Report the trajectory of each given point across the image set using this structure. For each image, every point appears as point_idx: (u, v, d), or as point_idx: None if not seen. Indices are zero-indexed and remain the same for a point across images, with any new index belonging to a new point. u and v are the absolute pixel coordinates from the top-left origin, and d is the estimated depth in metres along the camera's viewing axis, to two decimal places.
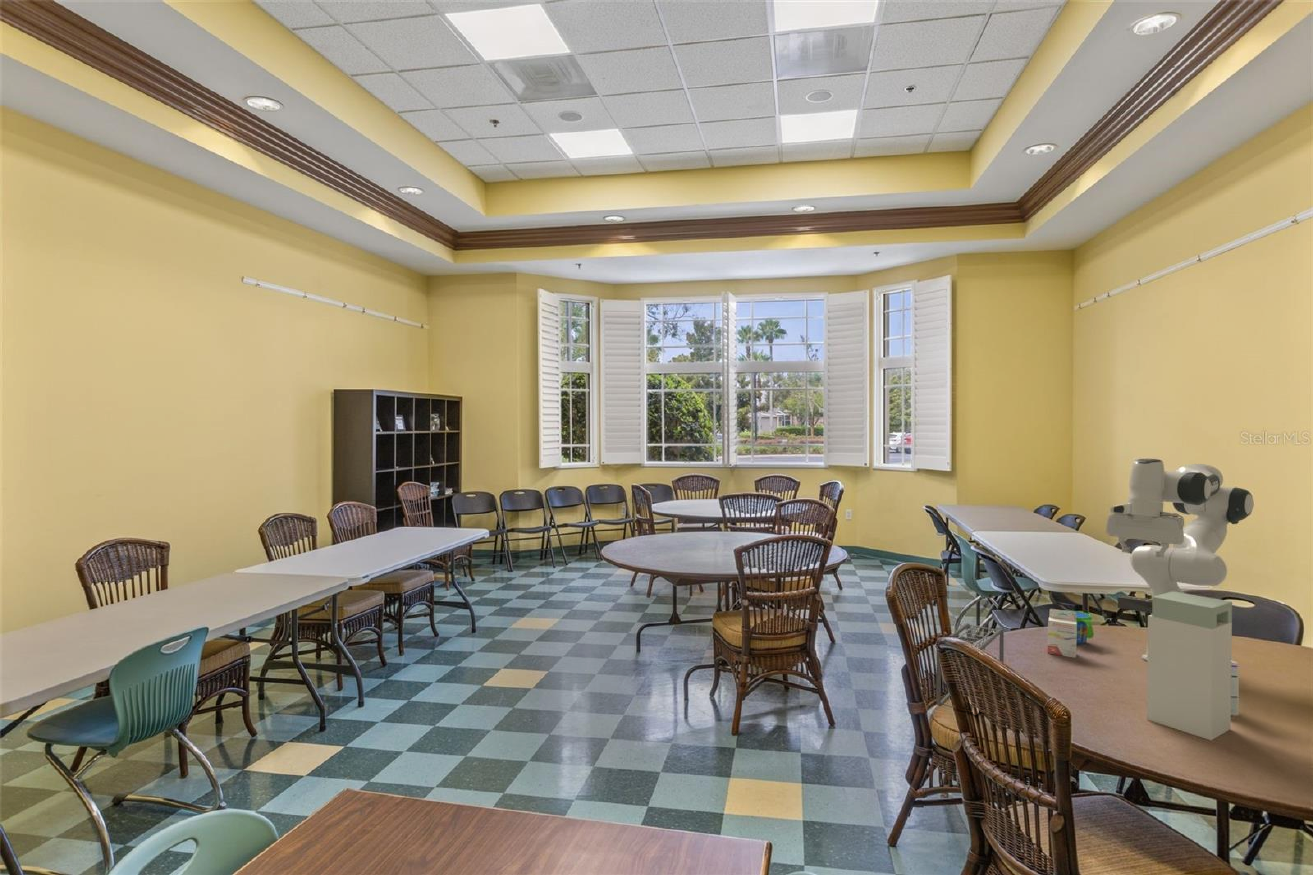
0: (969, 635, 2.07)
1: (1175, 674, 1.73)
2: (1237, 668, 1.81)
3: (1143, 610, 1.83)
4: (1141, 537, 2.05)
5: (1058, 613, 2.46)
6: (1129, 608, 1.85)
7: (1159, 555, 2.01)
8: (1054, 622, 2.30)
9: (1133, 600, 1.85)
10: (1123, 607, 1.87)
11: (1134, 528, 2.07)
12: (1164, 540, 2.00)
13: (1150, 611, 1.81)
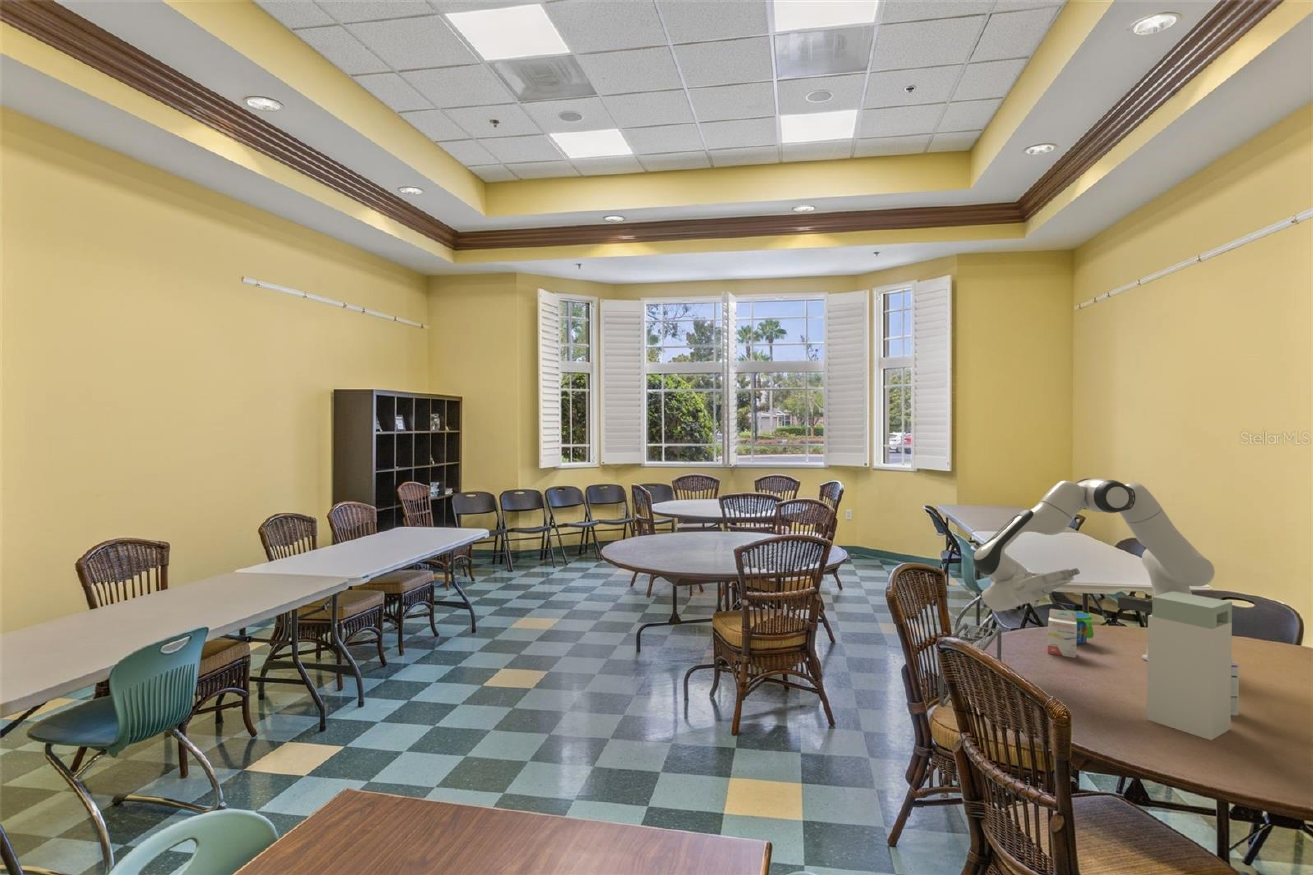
0: (967, 635, 2.08)
1: (1175, 674, 1.73)
2: (1237, 668, 1.81)
3: (1143, 610, 1.83)
4: (1055, 583, 2.04)
5: (1058, 613, 2.46)
6: (1129, 608, 1.85)
7: (1060, 577, 1.98)
8: (1054, 622, 2.30)
9: (1133, 600, 1.85)
10: (1123, 607, 1.87)
11: (1052, 585, 2.07)
12: (1045, 586, 2.01)
13: (1150, 611, 1.81)
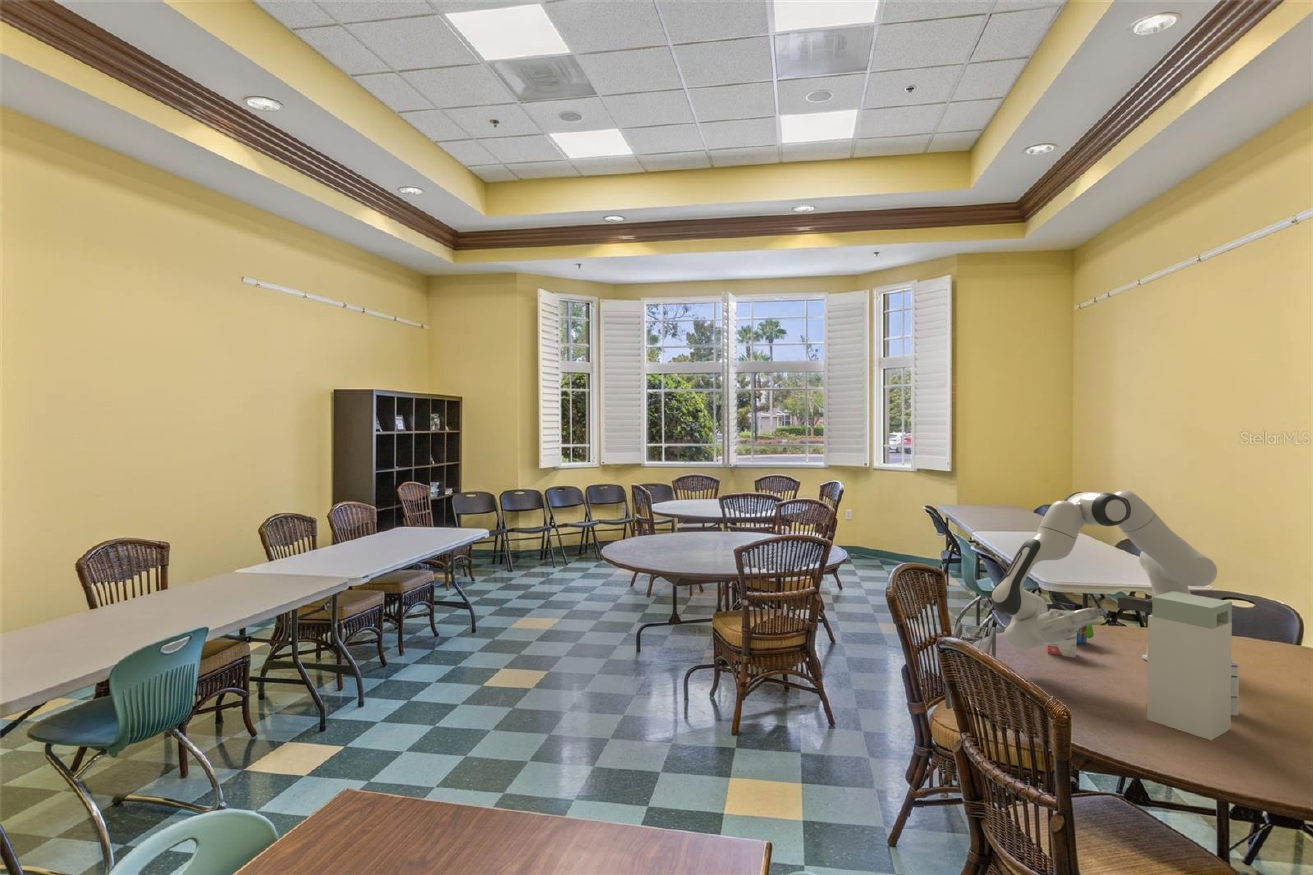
0: (961, 634, 2.08)
1: (1175, 674, 1.73)
2: (1237, 668, 1.81)
3: (1143, 610, 1.83)
4: (1083, 623, 1.97)
5: None
6: (1129, 608, 1.85)
7: (1088, 618, 1.92)
8: None
9: (1133, 600, 1.85)
10: (1123, 607, 1.87)
11: None
12: (1072, 627, 1.94)
13: (1150, 611, 1.81)
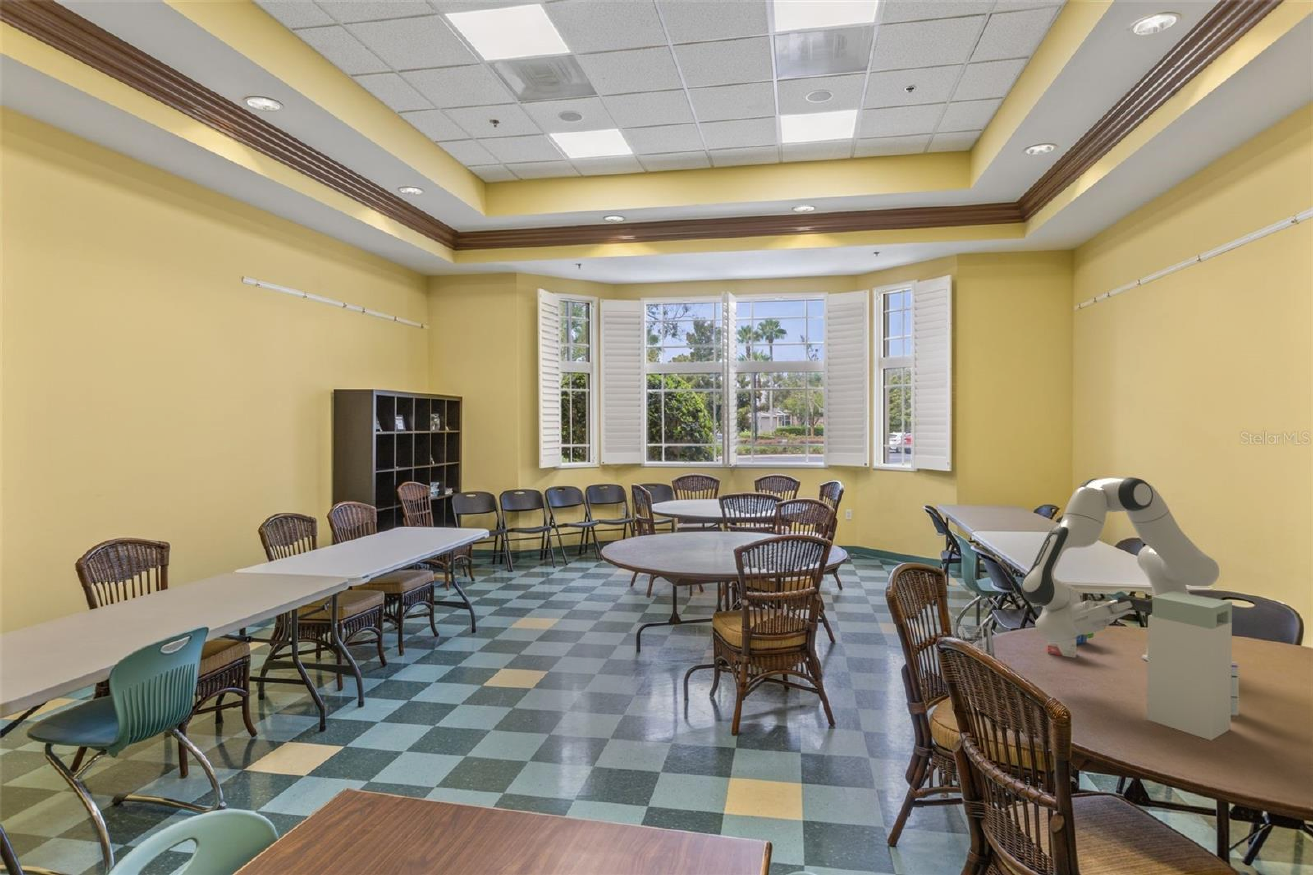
0: None
1: (1175, 674, 1.73)
2: (1237, 668, 1.81)
3: (1143, 610, 1.83)
4: (1120, 614, 1.89)
5: None
6: (1129, 608, 1.85)
7: (1130, 607, 1.84)
8: None
9: (1133, 600, 1.85)
10: None
11: None
12: (1109, 617, 1.86)
13: (1150, 611, 1.81)
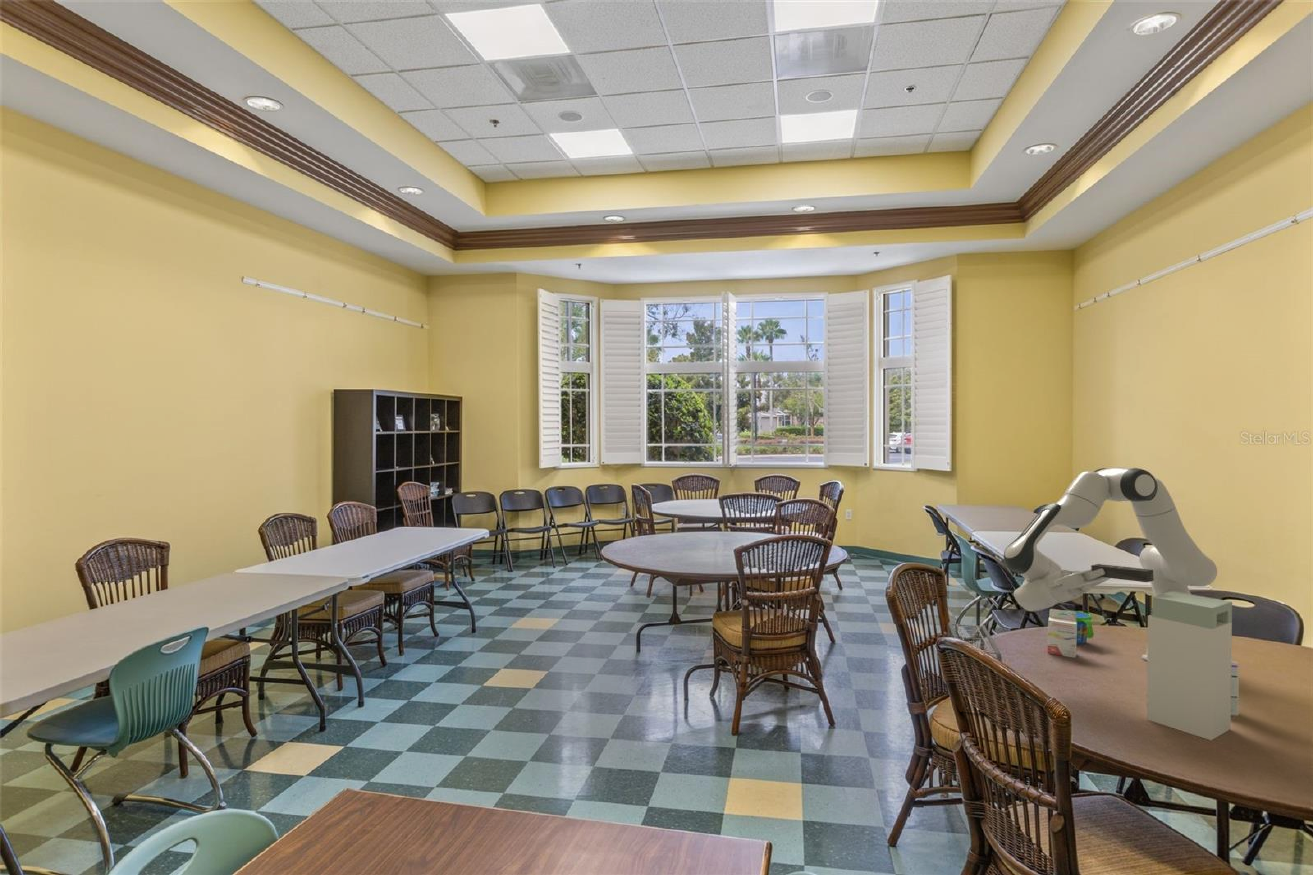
0: (950, 634, 2.08)
1: (1175, 674, 1.73)
2: (1237, 668, 1.81)
3: (1115, 577, 1.88)
4: (1094, 581, 1.95)
5: (1058, 613, 2.46)
6: (1102, 575, 1.91)
7: (1103, 574, 1.90)
8: (1054, 622, 2.30)
9: (1106, 568, 1.90)
10: None
11: (1090, 583, 1.98)
12: (1083, 584, 1.92)
13: (1122, 578, 1.87)
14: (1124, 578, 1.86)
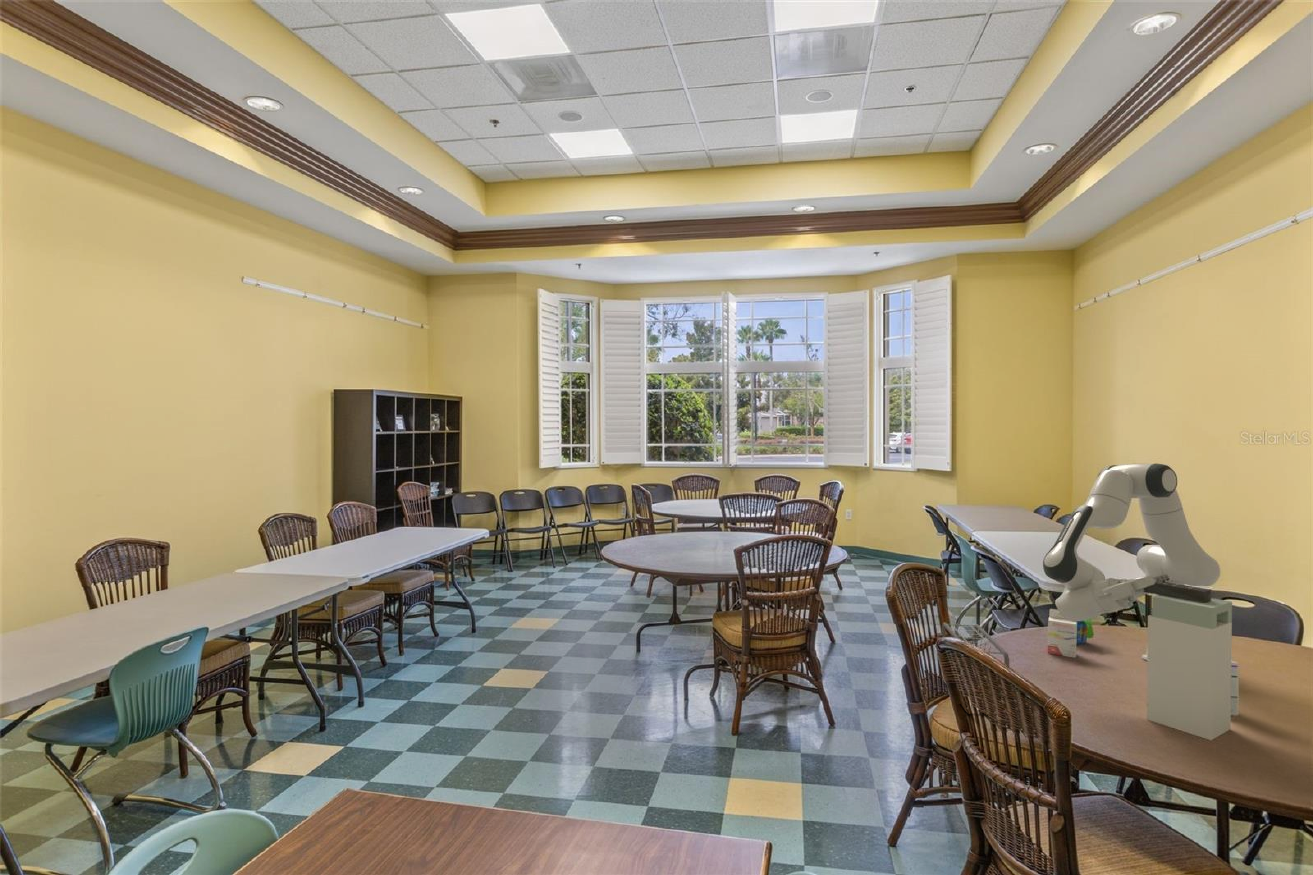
0: (945, 634, 2.08)
1: (1175, 674, 1.73)
2: (1237, 668, 1.81)
3: (1169, 595, 1.77)
4: None
5: (1058, 613, 2.46)
6: (1154, 592, 1.80)
7: (1153, 584, 1.78)
8: (1054, 622, 2.30)
9: (1159, 584, 1.79)
10: (1148, 591, 1.82)
11: None
12: (1134, 594, 1.80)
13: (1176, 596, 1.76)
14: (1179, 597, 1.75)
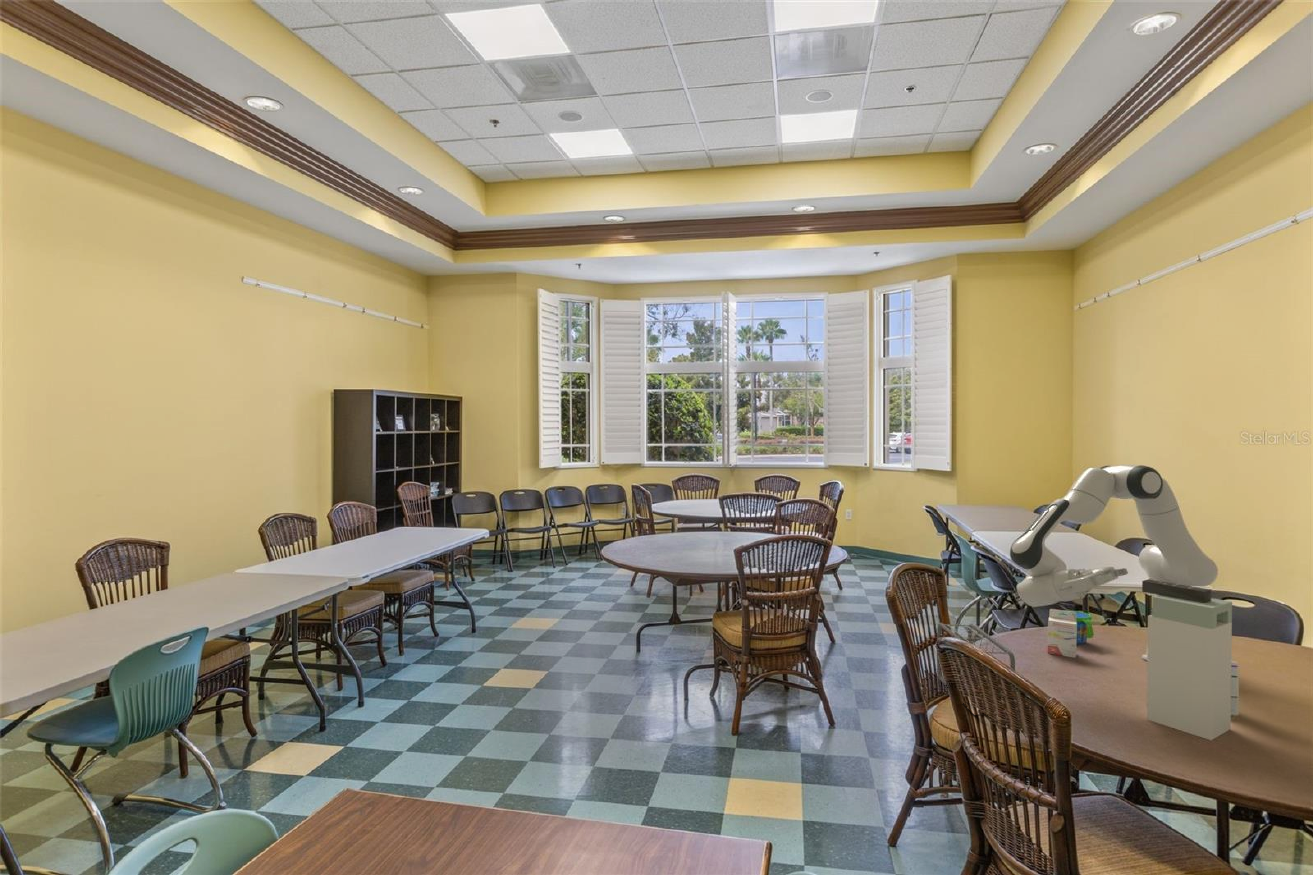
0: (940, 634, 2.08)
1: (1175, 674, 1.73)
2: (1237, 668, 1.81)
3: (1169, 595, 1.77)
4: (1102, 584, 1.94)
5: (1058, 613, 2.46)
6: (1154, 592, 1.80)
7: (1111, 580, 1.88)
8: (1054, 622, 2.30)
9: (1159, 584, 1.79)
10: (1148, 591, 1.82)
11: None
12: None
13: (1176, 596, 1.76)
14: (1179, 597, 1.75)
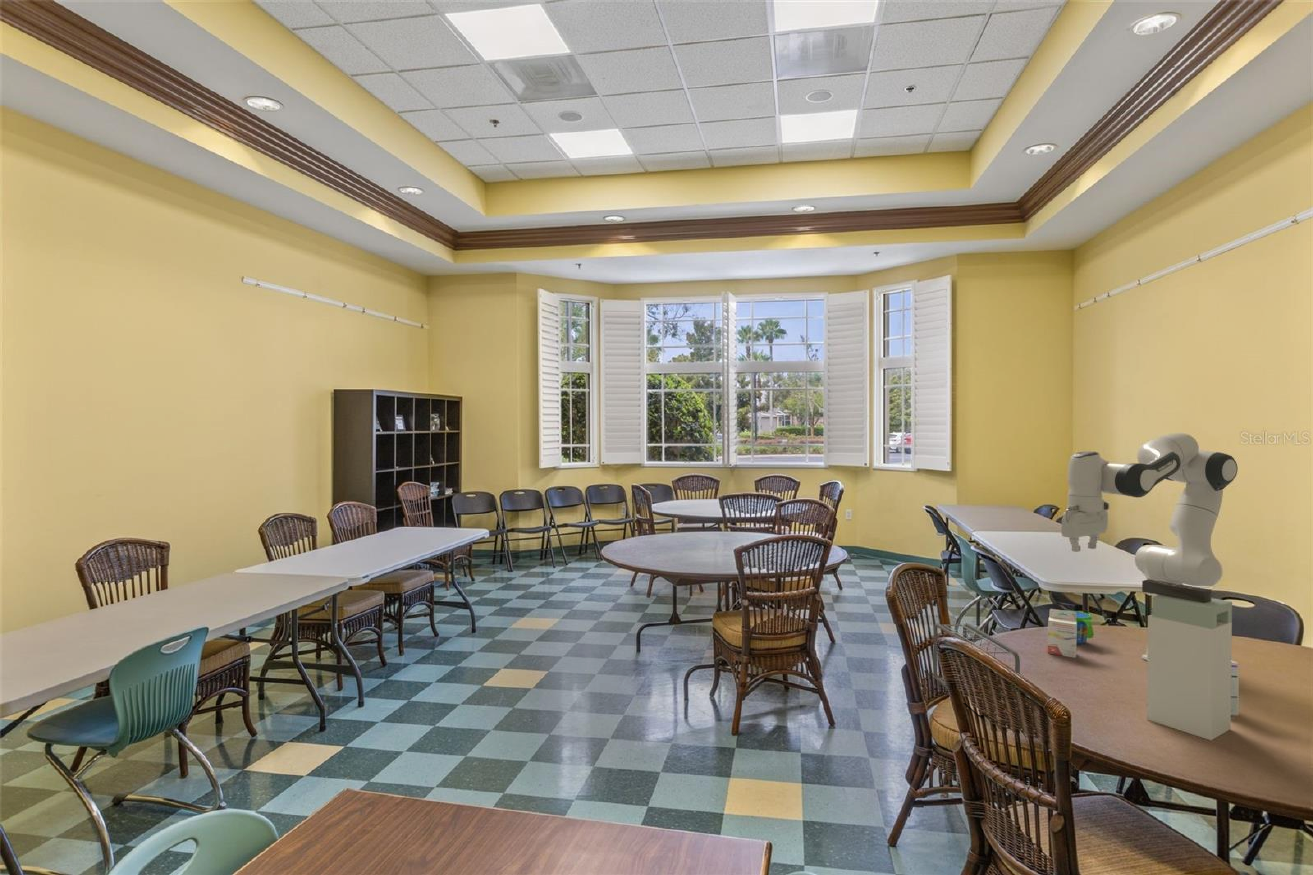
0: None
1: (1175, 674, 1.73)
2: (1237, 668, 1.81)
3: (1169, 595, 1.77)
4: None
5: (1058, 613, 2.46)
6: (1154, 592, 1.80)
7: None
8: (1054, 622, 2.30)
9: (1159, 584, 1.79)
10: (1148, 591, 1.82)
11: None
12: None
13: (1176, 596, 1.76)
14: (1179, 597, 1.75)
